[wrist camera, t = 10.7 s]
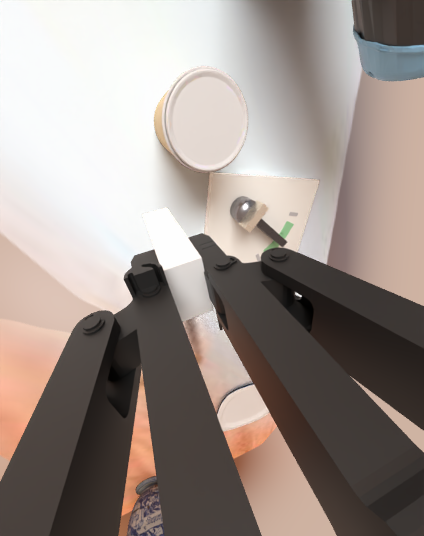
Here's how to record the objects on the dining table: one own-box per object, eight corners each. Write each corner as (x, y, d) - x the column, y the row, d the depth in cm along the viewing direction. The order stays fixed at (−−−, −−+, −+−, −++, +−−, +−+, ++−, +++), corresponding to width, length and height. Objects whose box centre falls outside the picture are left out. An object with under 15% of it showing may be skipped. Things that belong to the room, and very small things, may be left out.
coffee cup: (218, 149, 37) (256, 158, 27) (162, 169, 35) (182, 186, 26) (202, 74, 31) (243, 52, 21) (135, 94, 30) (147, 80, 20)
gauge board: (209, 172, 38) (213, 173, 36) (314, 178, 46) (320, 180, 44) (200, 270, 47) (202, 274, 45) (289, 261, 55) (293, 265, 53)
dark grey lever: (224, 213, 40) (238, 223, 36) (242, 190, 39) (258, 198, 35) (268, 247, 48) (284, 259, 44) (284, 229, 47) (301, 239, 43)
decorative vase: (184, 463, 88) (208, 578, 66) (170, 486, 96) (188, 597, 73) (126, 478, 78) (131, 619, 56) (115, 503, 86) (116, 637, 63)
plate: (286, 371, 82) (289, 375, 81) (267, 412, 94) (270, 417, 93) (221, 388, 73) (224, 393, 71) (209, 432, 84) (211, 437, 83)
